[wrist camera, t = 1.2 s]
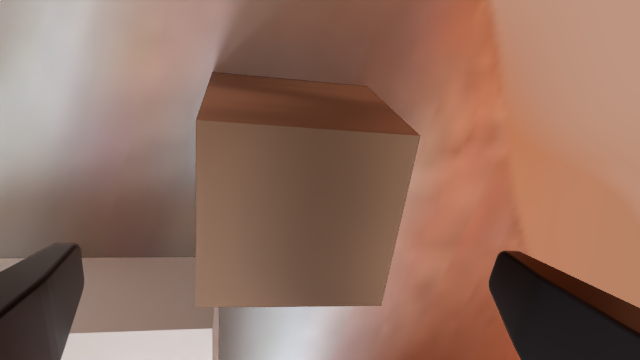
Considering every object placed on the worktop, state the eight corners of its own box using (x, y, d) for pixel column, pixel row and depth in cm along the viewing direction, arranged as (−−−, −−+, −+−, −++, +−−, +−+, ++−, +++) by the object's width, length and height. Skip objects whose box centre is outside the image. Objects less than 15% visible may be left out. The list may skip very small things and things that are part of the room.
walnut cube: (209, 211, 16) (195, 307, 11) (212, 71, 13) (195, 120, 9) (344, 215, 16) (381, 305, 12) (366, 85, 14) (420, 136, 10)
